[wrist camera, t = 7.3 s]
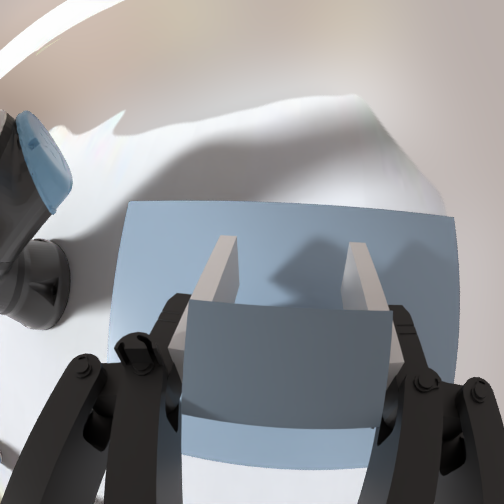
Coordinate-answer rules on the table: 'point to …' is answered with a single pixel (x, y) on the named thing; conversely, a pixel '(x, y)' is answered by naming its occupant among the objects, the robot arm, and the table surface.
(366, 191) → the table surface
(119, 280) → the lid
